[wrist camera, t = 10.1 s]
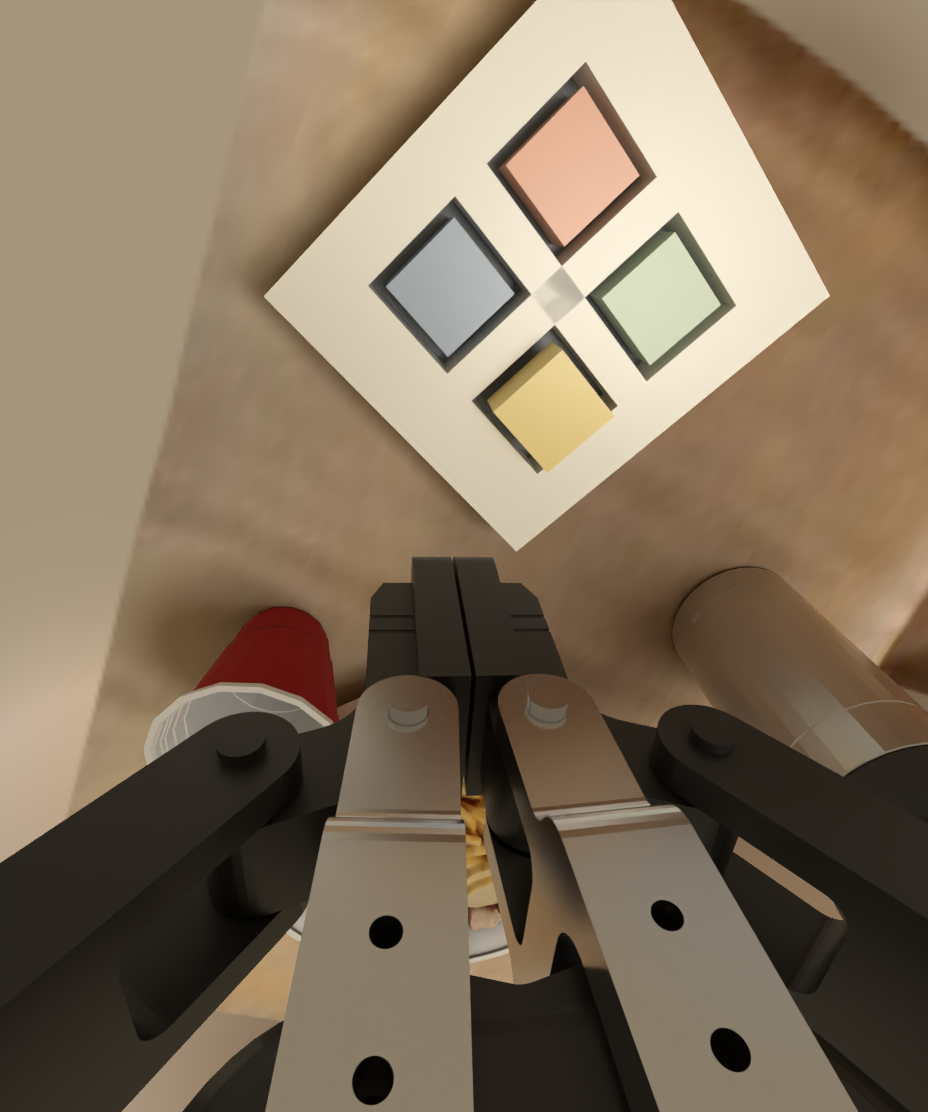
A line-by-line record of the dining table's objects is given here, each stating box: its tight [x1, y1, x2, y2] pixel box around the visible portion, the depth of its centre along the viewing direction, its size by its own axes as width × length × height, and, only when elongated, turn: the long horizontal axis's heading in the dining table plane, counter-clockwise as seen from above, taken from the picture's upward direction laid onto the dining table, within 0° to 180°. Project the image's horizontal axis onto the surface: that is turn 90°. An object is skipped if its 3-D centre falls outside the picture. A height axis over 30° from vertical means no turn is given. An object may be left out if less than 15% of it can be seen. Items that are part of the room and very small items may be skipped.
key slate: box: [386, 217, 514, 357], centre depth 32 cm, size 4×4×2 cm
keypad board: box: [264, 0, 830, 552], centre depth 33 cm, size 19×21×4 cm
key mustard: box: [487, 342, 614, 473], centre depth 33 cm, size 4×4×2 cm
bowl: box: [286, 698, 509, 963], centre depth 50 cm, size 30×30×8 cm
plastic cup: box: [143, 607, 339, 765], centre depth 39 cm, size 11×11×12 cm
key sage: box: [589, 231, 721, 365], centre depth 33 cm, size 4×4×2 cm
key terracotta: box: [498, 86, 640, 247], centre depth 30 cm, size 4×4×2 cm
